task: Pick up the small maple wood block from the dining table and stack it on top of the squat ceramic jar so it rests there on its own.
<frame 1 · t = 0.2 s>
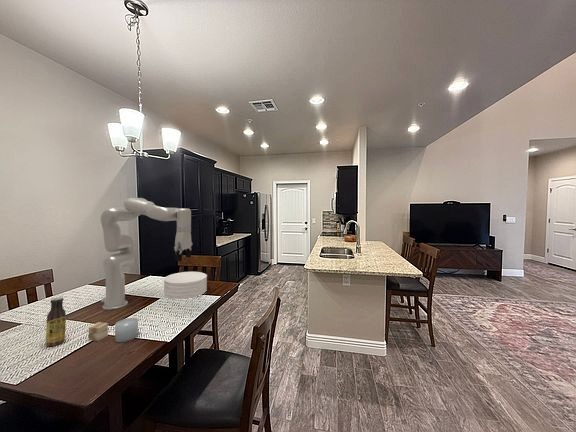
hand: (183, 259, 141), 31 cm above the table, fingers open, 9 cm apart
plate stack: (185, 293, 174), on the table
maple block: (98, 337, 113), on the table
sauce bottle: (56, 343, 108), on the table
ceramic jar: (126, 336, 115), on the table
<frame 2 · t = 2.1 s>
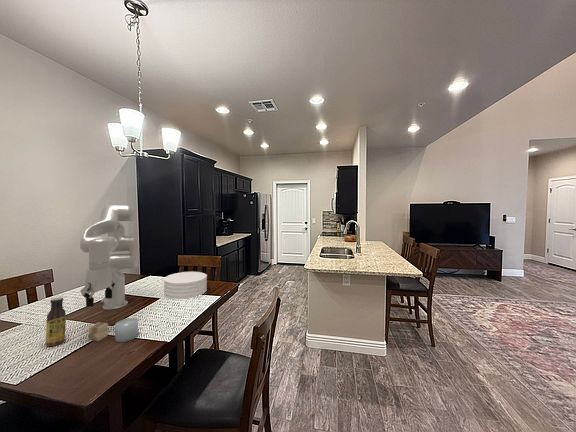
hand: (99, 302, 113), 17 cm above the table, fingers open, 9 cm apart
nothing on the table moved.
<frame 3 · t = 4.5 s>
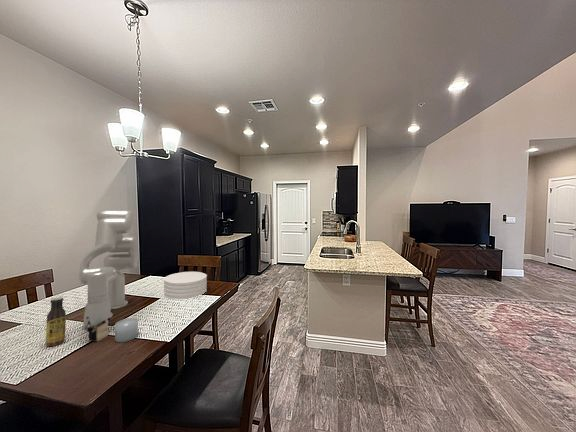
hand: (98, 336, 113), 1 cm above the table, fingers closed on maple block, 5 cm apart
maple block: (98, 337, 113), on the table, touching gripper
everything else where it was.
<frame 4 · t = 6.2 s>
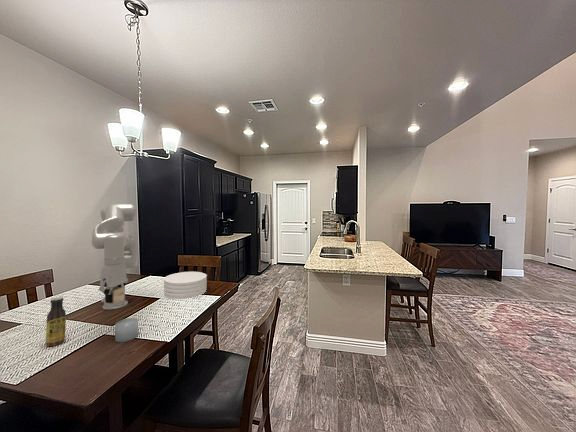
hand: (114, 299, 113), 18 cm above the table, fingers closed on maple block, 5 cm apart
maple block: (114, 301, 113), point 17 cm above the table, touching gripper
everything else where it was.
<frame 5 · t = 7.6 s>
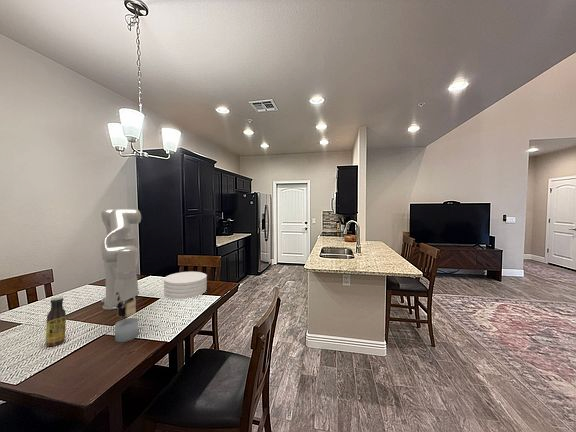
hand: (126, 313, 114), 11 cm above the table, fingers closed on maple block, 5 cm apart
maple block: (126, 314, 114), point 11 cm above the table, touching gripper
everything else where it was.
when the fingers open (9 cm above the table, at t = 8.4 s): maple block drops 1 cm, resting on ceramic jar.
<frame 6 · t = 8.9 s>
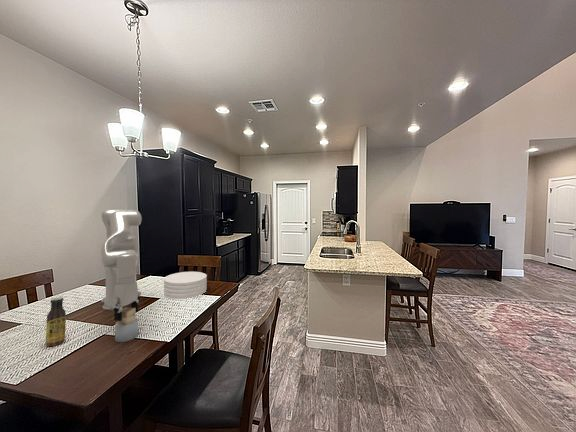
hand: (126, 315, 114), 10 cm above the table, fingers open, 9 cm apart
maple block: (126, 322, 114), point 7 cm above the table, touching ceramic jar
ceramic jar: (126, 336, 115), on the table, touching maple block
everything else where it was.
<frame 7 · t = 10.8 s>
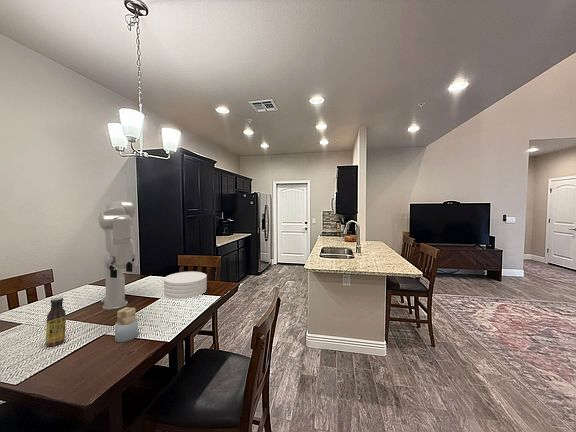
hand: (121, 274, 123), 26 cm above the table, fingers open, 9 cm apart
nothing on the table moved.
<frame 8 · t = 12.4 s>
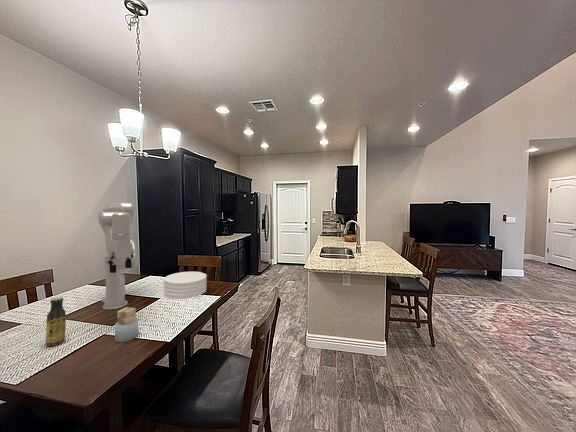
hand: (120, 270, 125), 28 cm above the table, fingers open, 9 cm apart
nothing on the table moved.
at the end: maple block 0.0 cm off-centre on the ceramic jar, point 7.0 cm above the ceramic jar's base; maple block tilted 0°; the gripper is holding nothing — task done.
